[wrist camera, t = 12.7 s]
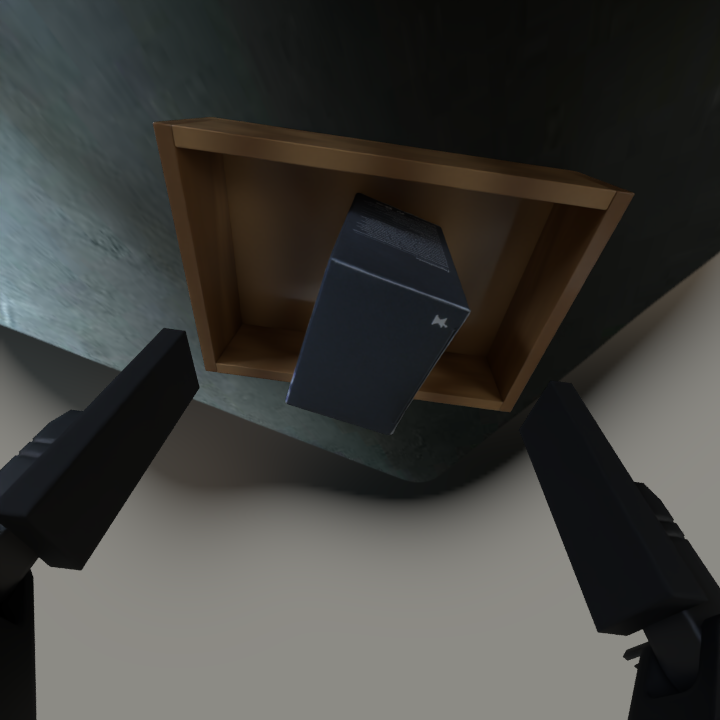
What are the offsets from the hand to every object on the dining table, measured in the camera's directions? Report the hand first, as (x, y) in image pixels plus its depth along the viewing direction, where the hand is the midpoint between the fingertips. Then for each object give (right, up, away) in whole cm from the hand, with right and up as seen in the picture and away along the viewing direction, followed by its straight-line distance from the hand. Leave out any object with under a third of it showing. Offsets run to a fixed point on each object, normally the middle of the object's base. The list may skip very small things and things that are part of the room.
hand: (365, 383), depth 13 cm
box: (+1, +7, +10) cm, 12 cm away
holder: (+1, +8, +10) cm, 13 cm away
